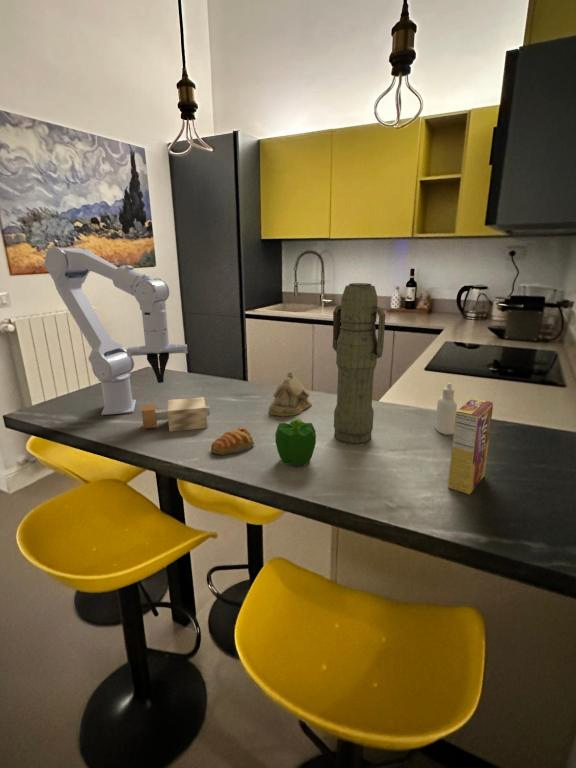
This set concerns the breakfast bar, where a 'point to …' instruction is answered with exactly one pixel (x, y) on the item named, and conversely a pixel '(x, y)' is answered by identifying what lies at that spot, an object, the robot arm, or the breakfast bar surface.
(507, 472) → the breakfast bar surface
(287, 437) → the bell pepper
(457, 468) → the candy box
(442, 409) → the eye dropper bottle
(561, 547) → the breakfast bar surface
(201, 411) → the block
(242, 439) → the pastry
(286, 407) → the ceramic model
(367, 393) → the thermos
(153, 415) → the shaft
